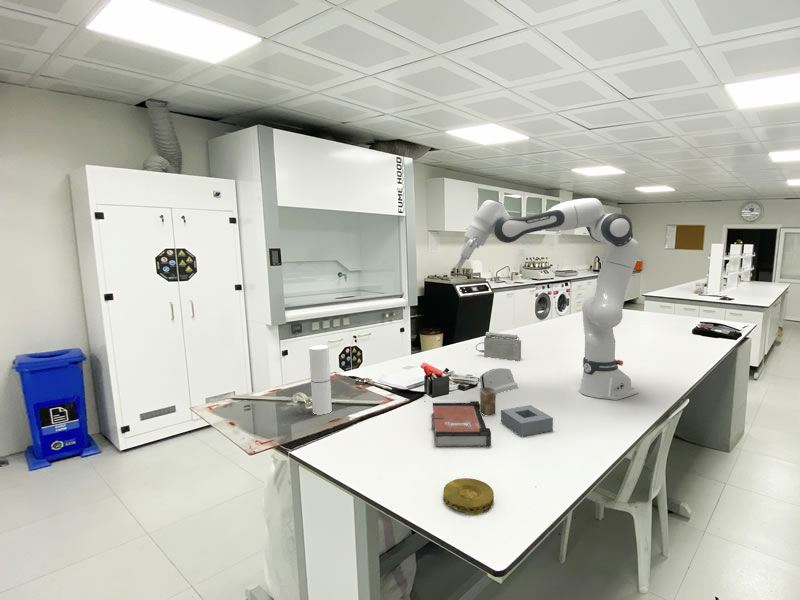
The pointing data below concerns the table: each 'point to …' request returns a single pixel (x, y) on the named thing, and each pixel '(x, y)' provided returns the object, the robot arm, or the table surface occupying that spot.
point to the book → (459, 425)
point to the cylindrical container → (320, 379)
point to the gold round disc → (468, 495)
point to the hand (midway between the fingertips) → (458, 267)
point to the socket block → (526, 420)
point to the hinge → (498, 380)
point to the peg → (487, 400)
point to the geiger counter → (502, 346)
